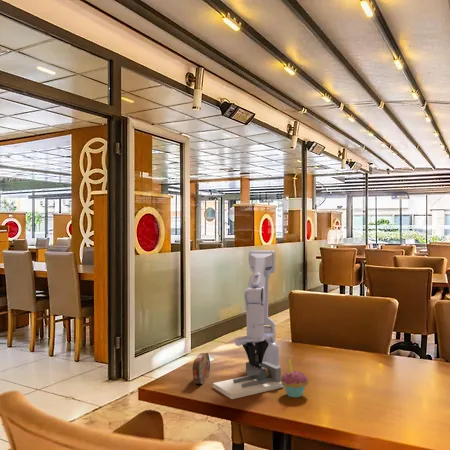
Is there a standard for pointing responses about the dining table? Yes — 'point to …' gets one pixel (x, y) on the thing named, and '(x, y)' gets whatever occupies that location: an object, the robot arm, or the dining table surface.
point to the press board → (250, 383)
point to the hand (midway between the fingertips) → (255, 364)
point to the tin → (201, 368)
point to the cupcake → (294, 382)
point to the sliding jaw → (256, 369)
